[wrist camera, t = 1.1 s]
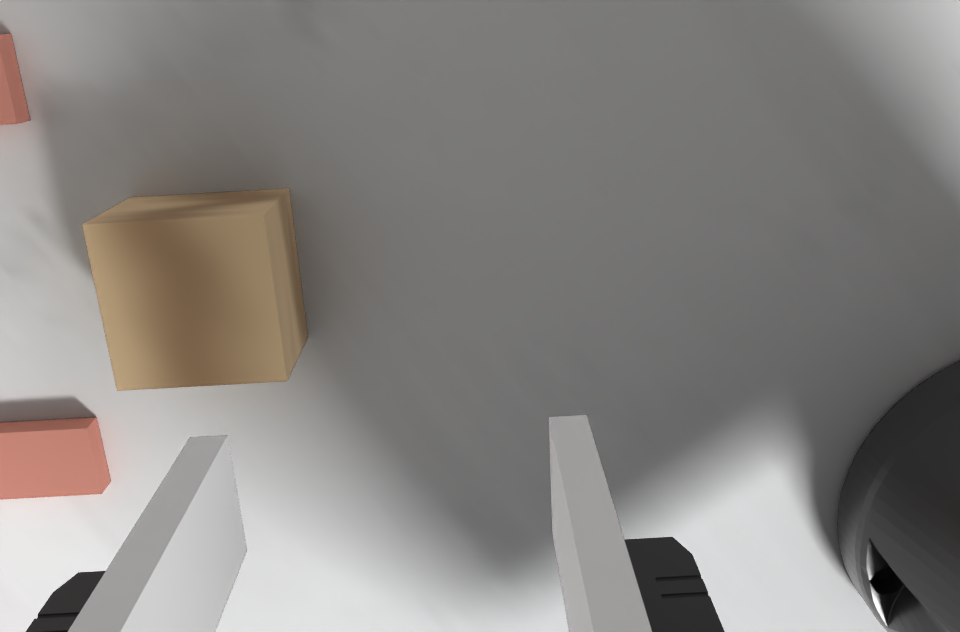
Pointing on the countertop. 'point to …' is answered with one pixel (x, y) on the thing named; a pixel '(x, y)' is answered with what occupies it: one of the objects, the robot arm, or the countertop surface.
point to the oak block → (199, 288)
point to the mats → (44, 443)
